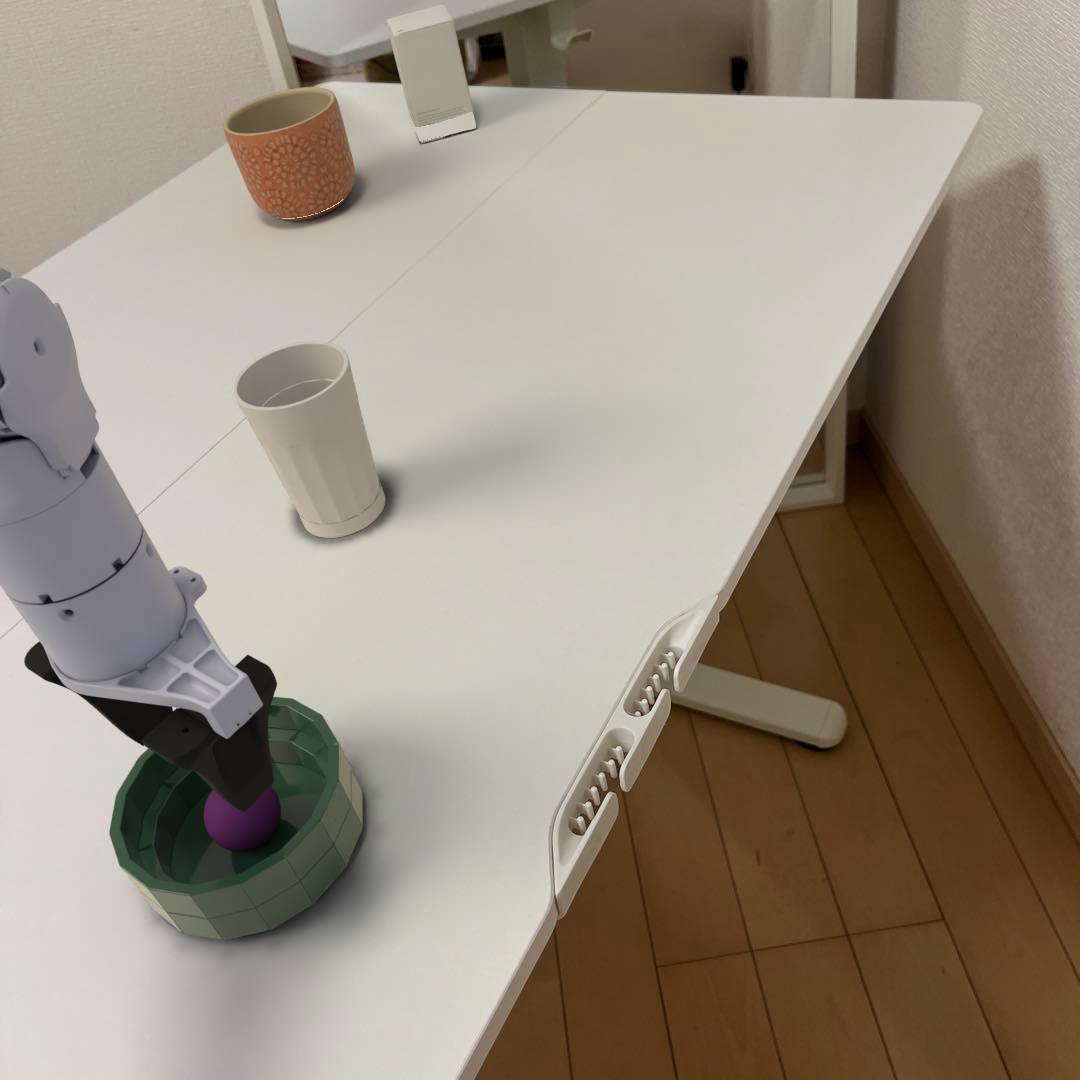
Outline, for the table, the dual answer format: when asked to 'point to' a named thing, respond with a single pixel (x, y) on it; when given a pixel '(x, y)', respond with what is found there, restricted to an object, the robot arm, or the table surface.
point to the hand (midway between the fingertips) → (203, 760)
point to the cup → (313, 434)
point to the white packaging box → (430, 65)
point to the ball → (242, 821)
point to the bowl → (251, 876)
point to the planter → (292, 152)
